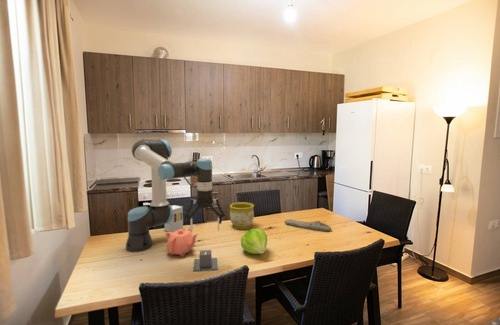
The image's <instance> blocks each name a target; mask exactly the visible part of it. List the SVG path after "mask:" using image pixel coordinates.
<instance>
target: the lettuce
mask: <svg viewBox="0 0 500 325" xmlns="http://www.w3.org/2000/svg"><path fill="white" fill-rule="evenodd" d="M240 244H241V245H240V246H241V248H242V249H243V250H244V251H245V252H247V253H249V254H251V255H257V254H261V255H262V254H264V253H265V251H266V249H267V245H268V235H267V233H266V232H265V230H263V229H261V228H251V229H250V230H248V231H246V232H245V233H244V234H243V235H242V236H241V239H240Z"/></svg>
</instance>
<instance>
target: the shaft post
mask: <svg viewBox="0 0 500 325" xmlns="http://www.w3.org/2000/svg"><path fill="white" fill-rule="evenodd" d="M217 270H219V268H218V257H212V266H206V267H200V258H194V261H193V272H206V271H217Z"/></svg>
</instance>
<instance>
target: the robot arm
mask: <svg viewBox="0 0 500 325" xmlns="http://www.w3.org/2000/svg"><path fill="white" fill-rule="evenodd" d="M131 154H132V156H133V158H134V159H135V160H137V161H138V162H144V163H145V164H146V165H148V166H149V167H150V170H151V171H150V172H151V173H150V174H151V199H152V200H151V202H150V203H149V207H148V206H137V207H135V208H132V209H129V211H128V212H127V228H128V231H127V233H128V236H127V240H126V242H125V250H126V251H128V252H142V251H145V250H146V251H147V250H148V249H151V248H152V247H153V244H154V243H153V241H154V240H153V239H152V236H151V234H150V228H154V227H157V226H161V225H165V223H168V222H170V221H171V219H172V217H173V209H172V206H173V205H171V204H170V202H169V201H168V200H167V180H173V179H181V178H188V177H195V178H196V179H197V180H196V189H197V191H196V199H193V198H191V199H190V204H189V207H188V208H187V210H186V212H185V214H184V219H187V220H188V223H187V224H188V226H190V229H191V233H193V217H194V215H195V214H196V213H197V211H198V210H200V209H208V208H210V209H211V210H212V211H213V212H214V213H215V215H216V216H217V231H218V232H219V231H220V224H222V218H224V217H225V216H226V214H225V212H224V210H223V208H222V206H221V205H220V201H219V198H218V197H216V198H213V164H212V160H211V159H209V158H199V159H197V160H196V161H185V162H172V161H170V160H169V158H171V156H172V154H173V153H172V146H171V144H170V142H169V141H168V140H166V139H160V138H159V139H140V140H138V141H136V142H135V143H134V144H133V145H132V146H131ZM213 203H214V204H216V206H217V207H218V208H217V209H218V210H219V211H220V212H219V211H218V210H217V209H216V207H215V206H214V205H213ZM194 204H197V205H196V206H195V208H194V209H193V210H192V208H193V205H194ZM191 210H192V212H191ZM190 212H191V213H190Z"/></svg>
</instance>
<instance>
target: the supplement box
mask: <svg viewBox="0 0 500 325" xmlns="http://www.w3.org/2000/svg"><path fill="white" fill-rule="evenodd" d="M171 206H172V209H173V217H172V219H171V221H170V222H168V223H165V224H164V231H165V232H172V233H173V232H175V231H177V230H179V229H183V230H184V215H183V214H184V211H183V209H184V206H182V205H181V206H180V205H174V204H173V205H171Z"/></svg>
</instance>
